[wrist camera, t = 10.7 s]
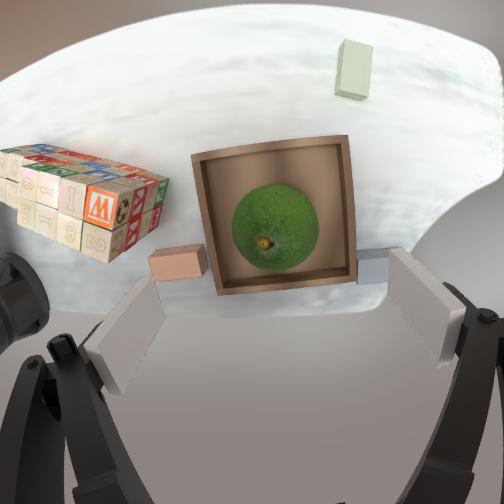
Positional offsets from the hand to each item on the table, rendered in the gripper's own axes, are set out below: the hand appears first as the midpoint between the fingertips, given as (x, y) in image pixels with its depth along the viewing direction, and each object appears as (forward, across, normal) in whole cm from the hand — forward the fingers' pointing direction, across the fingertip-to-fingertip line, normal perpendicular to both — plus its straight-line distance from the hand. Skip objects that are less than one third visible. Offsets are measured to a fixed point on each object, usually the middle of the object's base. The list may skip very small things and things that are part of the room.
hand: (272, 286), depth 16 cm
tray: (+18, +1, 0) cm, 18 cm away
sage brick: (+18, +11, +15) cm, 26 cm away
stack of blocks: (+19, -22, +8) cm, 30 cm away
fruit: (+18, 0, 0) cm, 18 cm away
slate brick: (+18, +12, -7) cm, 23 cm away
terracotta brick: (+18, -11, -4) cm, 22 cm away
